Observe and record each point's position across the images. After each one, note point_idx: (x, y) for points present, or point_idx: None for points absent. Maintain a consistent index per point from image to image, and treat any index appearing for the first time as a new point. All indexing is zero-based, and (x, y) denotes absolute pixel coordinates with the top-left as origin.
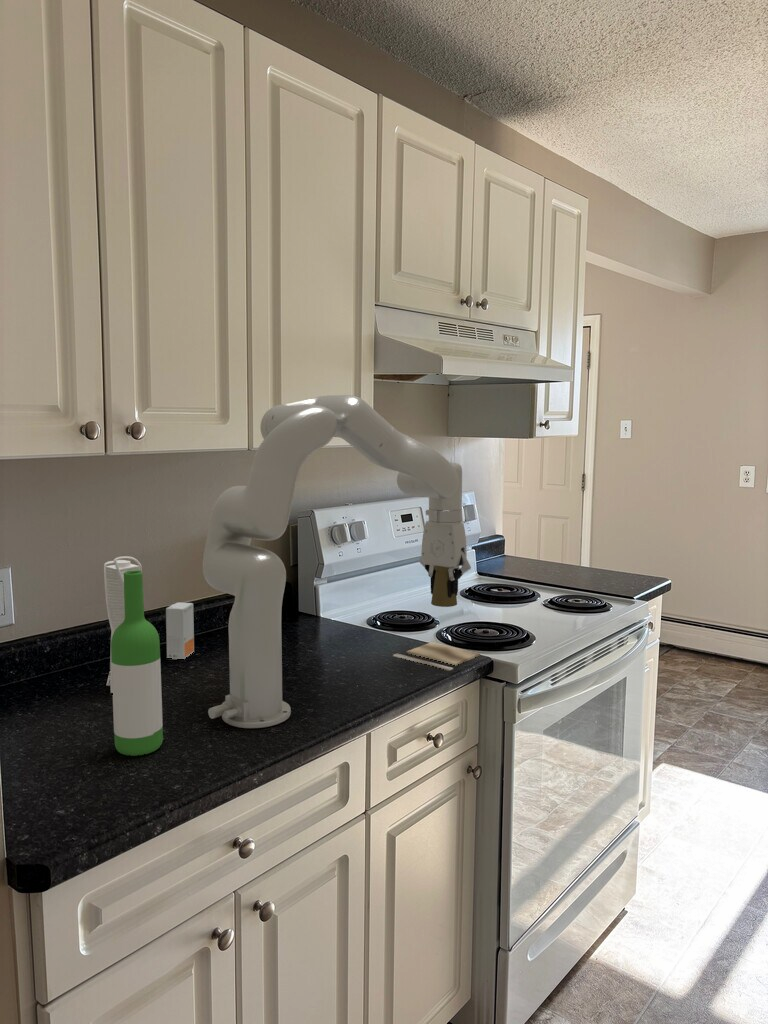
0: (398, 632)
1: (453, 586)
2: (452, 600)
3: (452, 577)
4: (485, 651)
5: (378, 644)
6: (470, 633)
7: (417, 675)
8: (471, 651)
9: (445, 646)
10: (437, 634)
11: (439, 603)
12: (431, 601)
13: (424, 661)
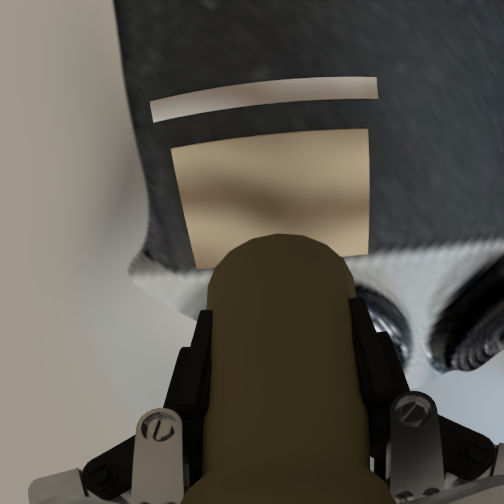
0: (480, 261)
1: (175, 380)
2: None
3: (149, 432)
4: None
5: (471, 144)
6: None
7: (185, 7)
8: None
9: None
10: (399, 315)
11: (253, 248)
12: (341, 263)
13: (256, 96)
